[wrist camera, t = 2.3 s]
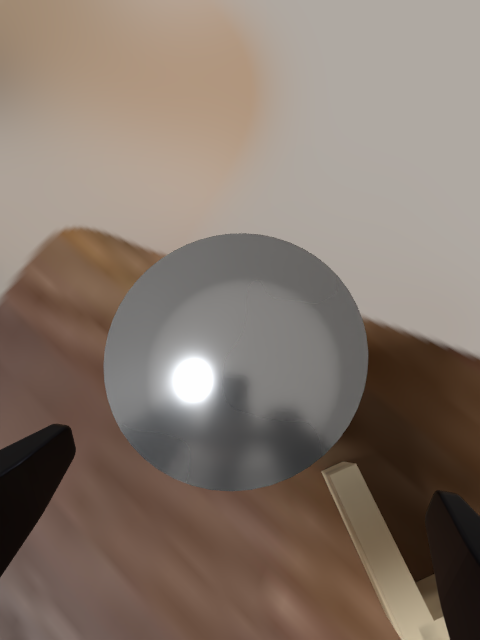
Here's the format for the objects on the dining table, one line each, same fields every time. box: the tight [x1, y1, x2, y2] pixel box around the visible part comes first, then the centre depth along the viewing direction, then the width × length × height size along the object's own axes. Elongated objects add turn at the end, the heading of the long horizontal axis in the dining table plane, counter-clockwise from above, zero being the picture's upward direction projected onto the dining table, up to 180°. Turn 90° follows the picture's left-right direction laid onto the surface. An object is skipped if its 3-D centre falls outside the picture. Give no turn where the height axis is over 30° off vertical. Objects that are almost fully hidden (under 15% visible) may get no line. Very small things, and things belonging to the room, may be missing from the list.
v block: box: [321, 462, 450, 640], centre depth 13 cm, size 5×9×3 cm, turn 67°
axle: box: [104, 233, 368, 491], centre depth 11 cm, size 4×4×13 cm
